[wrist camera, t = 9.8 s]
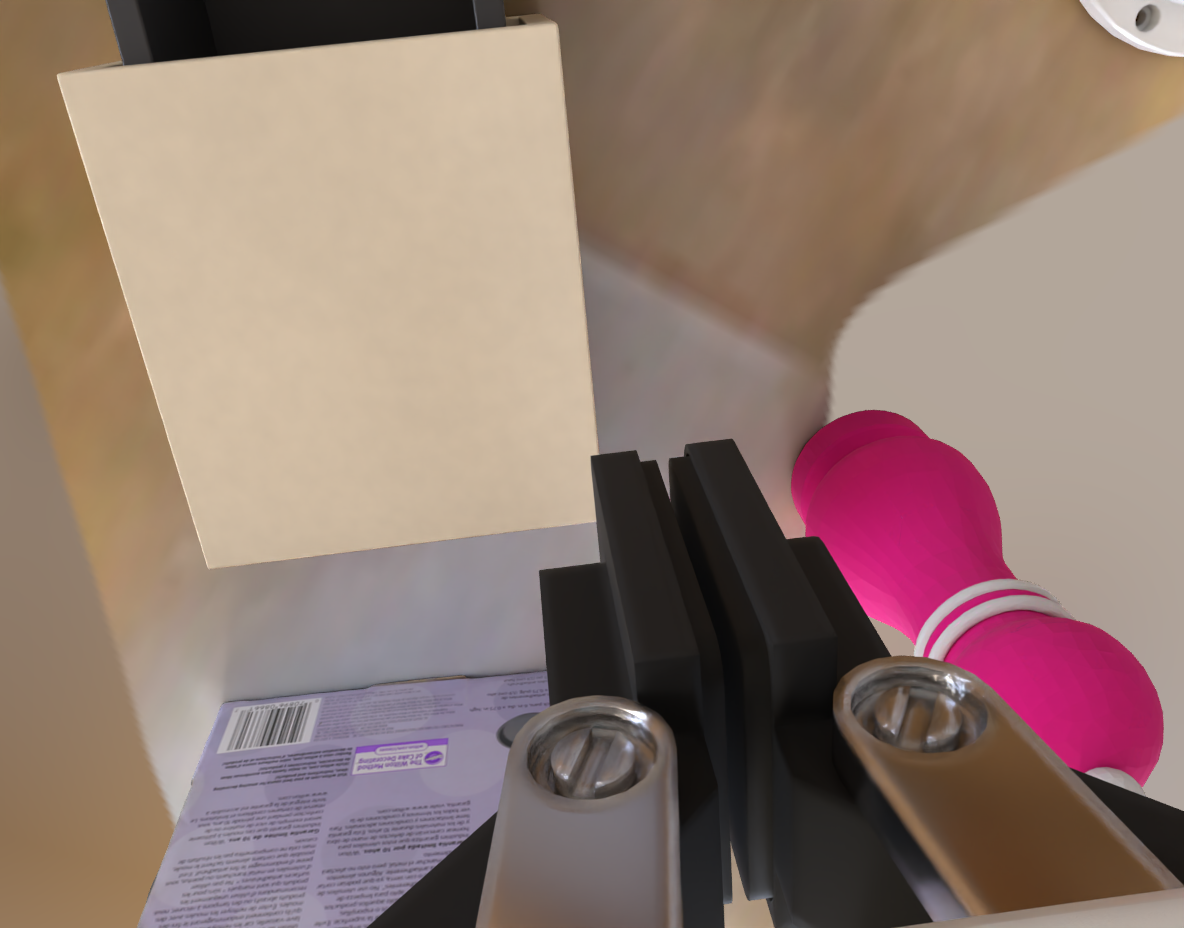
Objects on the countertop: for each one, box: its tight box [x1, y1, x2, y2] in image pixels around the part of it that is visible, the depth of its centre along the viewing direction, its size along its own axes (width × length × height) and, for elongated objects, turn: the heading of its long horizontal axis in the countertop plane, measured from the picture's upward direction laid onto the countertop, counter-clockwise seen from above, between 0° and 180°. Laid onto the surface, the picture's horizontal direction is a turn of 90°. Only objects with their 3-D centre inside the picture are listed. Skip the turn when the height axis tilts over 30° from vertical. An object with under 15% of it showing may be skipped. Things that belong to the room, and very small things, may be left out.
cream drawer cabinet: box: [57, 14, 599, 569], centre depth 32 cm, size 15×13×10 cm
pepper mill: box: [791, 410, 1164, 797], centre depth 34 cm, size 7×7×20 cm
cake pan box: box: [137, 671, 550, 928], centre depth 38 cm, size 19×5×18 cm, turn 93°
